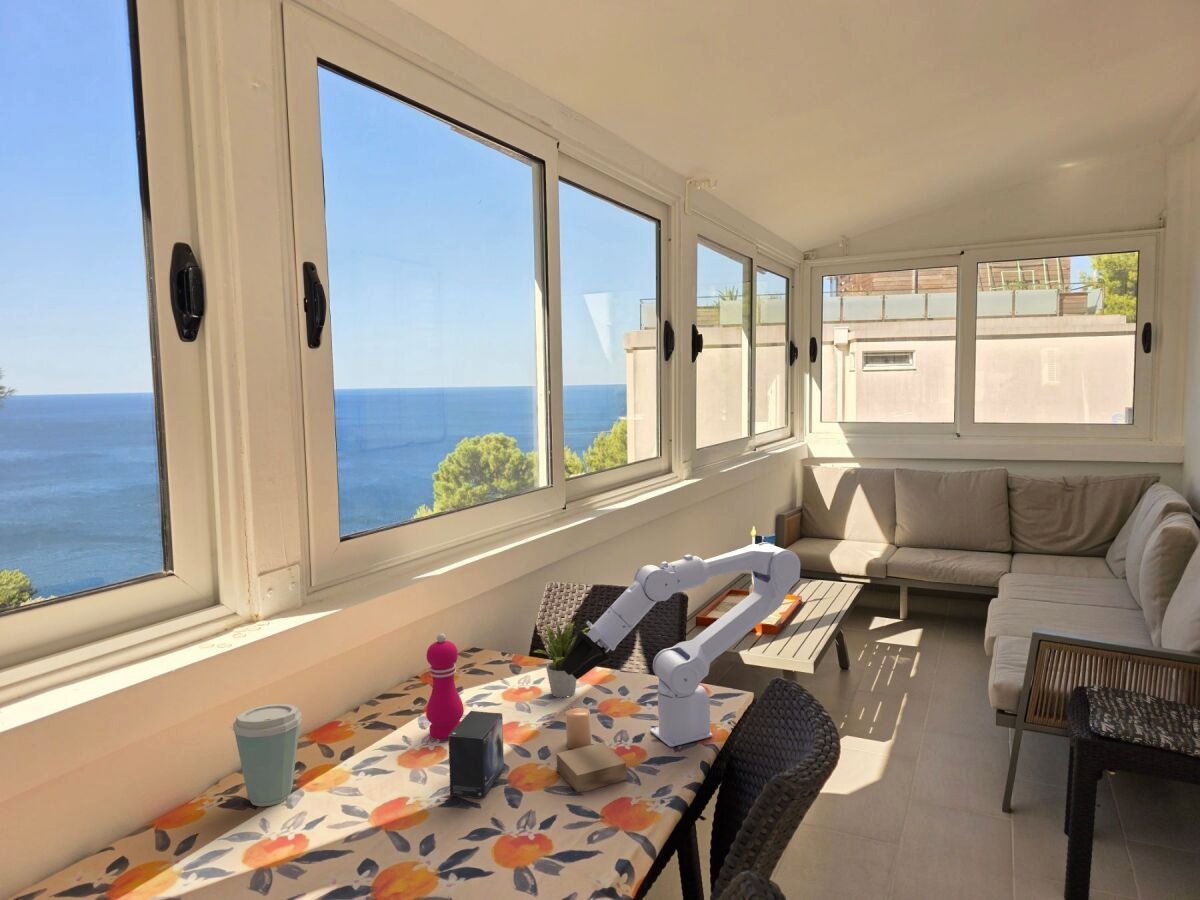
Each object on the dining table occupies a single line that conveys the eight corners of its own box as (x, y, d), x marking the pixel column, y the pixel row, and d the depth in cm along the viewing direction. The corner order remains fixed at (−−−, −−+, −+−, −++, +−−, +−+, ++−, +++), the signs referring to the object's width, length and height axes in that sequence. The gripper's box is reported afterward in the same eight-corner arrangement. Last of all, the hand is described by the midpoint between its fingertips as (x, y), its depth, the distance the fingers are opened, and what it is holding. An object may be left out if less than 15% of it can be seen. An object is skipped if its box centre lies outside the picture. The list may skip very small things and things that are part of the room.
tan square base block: (603, 758, 142) (602, 742, 142) (626, 779, 134) (625, 762, 134) (557, 769, 138) (556, 753, 138) (577, 792, 130) (577, 775, 130)
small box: (486, 800, 129) (483, 738, 128) (448, 797, 130) (445, 735, 130) (506, 769, 139) (504, 711, 139) (471, 766, 141) (469, 709, 140)
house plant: (596, 707, 165) (594, 631, 164) (530, 709, 165) (527, 633, 164) (597, 682, 179) (595, 611, 178) (536, 683, 179) (534, 613, 178)
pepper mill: (419, 738, 153) (414, 637, 151) (440, 723, 159) (436, 626, 158) (451, 743, 150) (446, 641, 148) (471, 728, 157) (467, 629, 155)
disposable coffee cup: (238, 789, 135) (232, 704, 134) (305, 776, 139) (300, 693, 138) (236, 820, 125) (230, 728, 124) (308, 804, 129) (303, 715, 128)
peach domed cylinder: (585, 736, 151) (583, 706, 151) (595, 746, 147) (594, 714, 147) (562, 741, 149) (561, 711, 149) (572, 751, 145) (571, 720, 145)
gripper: (611, 610, 154) (562, 662, 152) (598, 596, 141) (545, 652, 138) (637, 635, 151) (587, 688, 149) (627, 623, 138) (573, 681, 136)
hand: (569, 673), depth 144 cm, fingers open, 7 cm apart
